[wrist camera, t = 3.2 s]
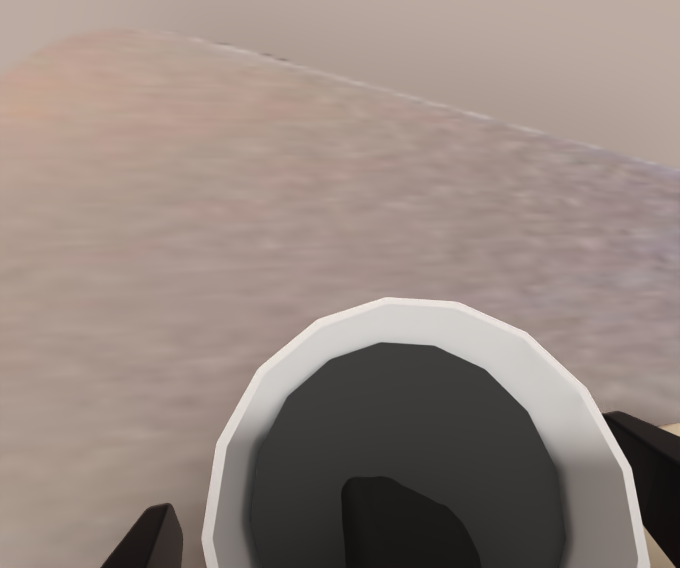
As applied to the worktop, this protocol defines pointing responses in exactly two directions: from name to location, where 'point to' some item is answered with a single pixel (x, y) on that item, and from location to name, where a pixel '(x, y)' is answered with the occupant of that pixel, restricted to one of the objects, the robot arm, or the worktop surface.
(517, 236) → the worktop surface
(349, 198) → the worktop surface
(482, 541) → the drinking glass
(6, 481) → the worktop surface
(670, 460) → the robot arm
